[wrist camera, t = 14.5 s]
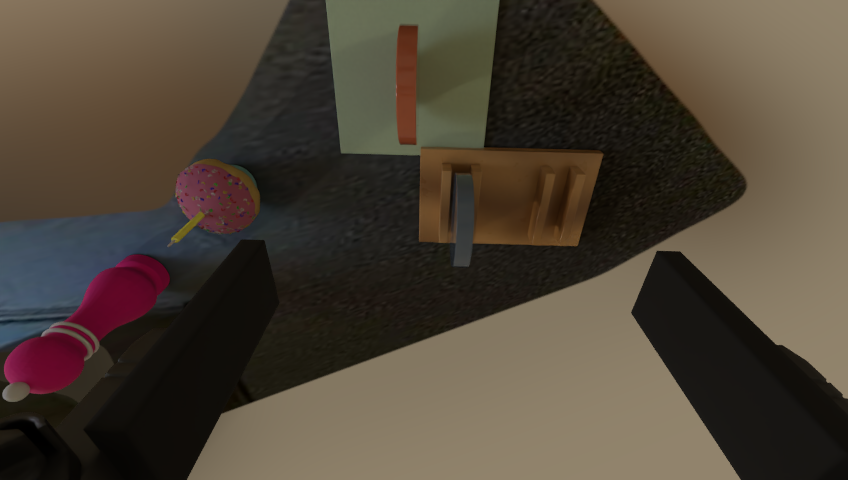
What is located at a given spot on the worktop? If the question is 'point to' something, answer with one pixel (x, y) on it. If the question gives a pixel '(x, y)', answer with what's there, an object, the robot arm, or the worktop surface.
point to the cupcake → (216, 197)
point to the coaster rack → (510, 193)
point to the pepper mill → (84, 328)
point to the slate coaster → (461, 220)
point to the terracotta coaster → (408, 83)
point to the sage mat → (439, 71)
